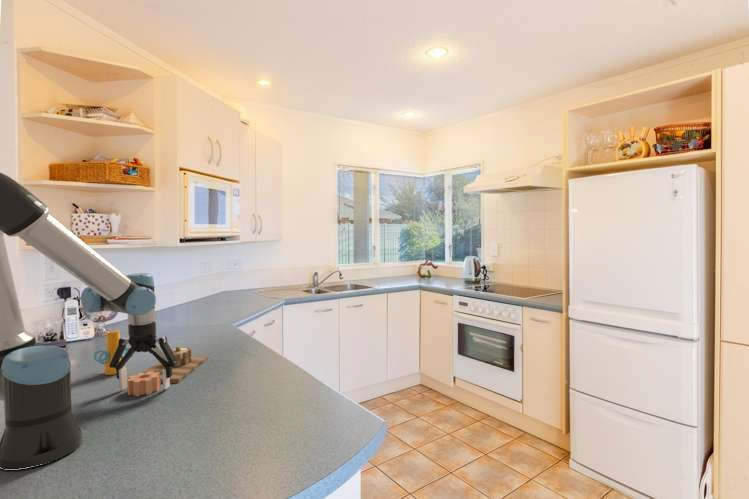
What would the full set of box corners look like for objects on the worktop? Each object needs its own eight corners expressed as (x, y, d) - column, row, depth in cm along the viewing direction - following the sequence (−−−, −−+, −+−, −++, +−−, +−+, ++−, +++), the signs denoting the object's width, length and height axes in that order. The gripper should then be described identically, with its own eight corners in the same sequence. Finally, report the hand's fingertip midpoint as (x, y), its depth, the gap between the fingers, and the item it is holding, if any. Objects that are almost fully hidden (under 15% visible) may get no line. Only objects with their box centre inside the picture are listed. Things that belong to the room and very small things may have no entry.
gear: (150, 395, 122) (150, 381, 121) (121, 396, 121) (121, 382, 121) (165, 384, 131) (165, 371, 130) (138, 385, 130) (137, 371, 130)
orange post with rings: (112, 379, 136) (110, 336, 135) (87, 377, 138) (85, 335, 137) (140, 367, 147) (138, 327, 147) (116, 365, 150) (115, 326, 149)
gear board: (178, 382, 132) (178, 361, 132) (130, 383, 132) (129, 362, 131) (207, 359, 156) (206, 341, 156) (166, 360, 156) (165, 342, 155)
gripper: (187, 318, 129) (189, 382, 130) (109, 320, 128) (113, 384, 130) (176, 324, 121) (179, 392, 123) (93, 326, 121) (97, 393, 122)
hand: (145, 388), depth 126 cm, fingers open, 13 cm apart
